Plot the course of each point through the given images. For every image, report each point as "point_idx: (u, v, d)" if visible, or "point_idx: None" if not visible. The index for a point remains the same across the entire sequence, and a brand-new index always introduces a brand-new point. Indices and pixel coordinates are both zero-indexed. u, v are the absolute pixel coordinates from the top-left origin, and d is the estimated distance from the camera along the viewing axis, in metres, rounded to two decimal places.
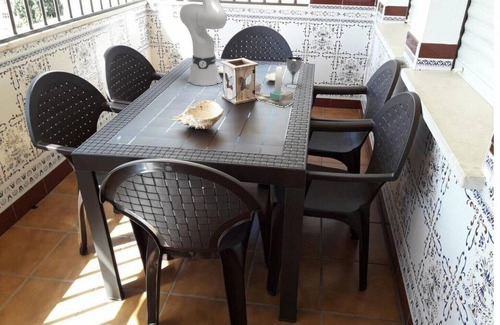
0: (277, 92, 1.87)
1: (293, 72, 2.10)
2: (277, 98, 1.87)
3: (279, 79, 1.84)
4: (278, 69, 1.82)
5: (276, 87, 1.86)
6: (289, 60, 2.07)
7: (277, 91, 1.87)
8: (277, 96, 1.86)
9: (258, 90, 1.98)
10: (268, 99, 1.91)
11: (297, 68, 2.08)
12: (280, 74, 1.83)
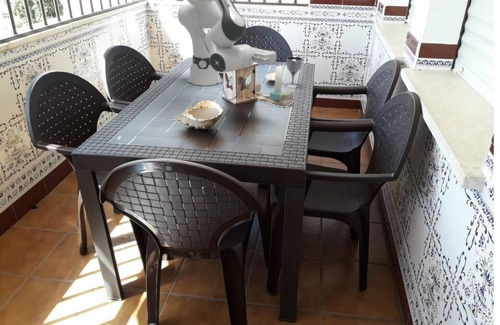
0: (277, 92, 1.87)
1: (293, 72, 2.10)
2: (277, 98, 1.87)
3: (279, 79, 1.84)
4: (278, 69, 1.82)
5: (276, 87, 1.86)
6: (289, 60, 2.07)
7: (277, 91, 1.87)
8: (277, 96, 1.86)
9: (258, 90, 1.98)
10: (268, 99, 1.91)
11: (297, 68, 2.08)
12: (280, 74, 1.83)
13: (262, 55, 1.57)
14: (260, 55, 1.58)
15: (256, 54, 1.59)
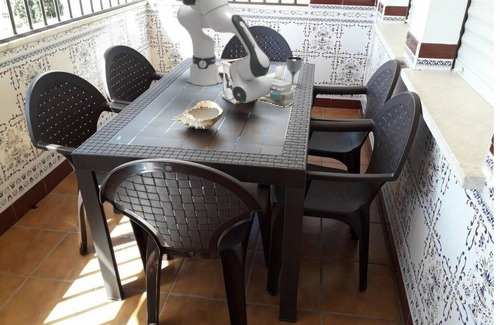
0: None
1: (293, 72, 2.10)
2: (277, 98, 1.87)
3: (279, 79, 1.84)
4: (278, 69, 1.82)
5: None
6: (289, 60, 2.07)
7: None
8: (277, 96, 1.86)
9: None
10: (268, 99, 1.91)
11: (297, 68, 2.08)
12: (280, 74, 1.83)
13: (279, 86, 1.73)
14: (277, 86, 1.74)
15: (273, 85, 1.75)
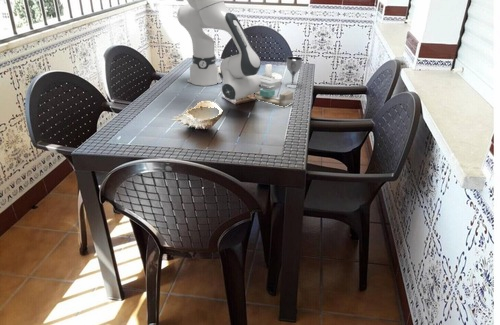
0: None
1: (293, 72, 2.10)
2: (267, 95, 1.90)
3: None
4: (268, 67, 1.85)
5: None
6: (289, 60, 2.07)
7: None
8: (267, 93, 1.90)
9: None
10: (268, 99, 1.91)
11: (297, 68, 2.08)
12: (270, 71, 1.86)
13: (268, 83, 1.77)
14: (266, 83, 1.77)
15: (262, 82, 1.78)
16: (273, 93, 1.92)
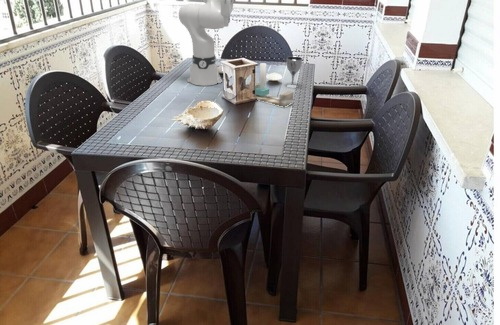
0: (261, 88, 1.92)
1: (293, 72, 2.10)
2: (261, 94, 1.92)
3: (263, 75, 1.89)
4: (262, 65, 1.87)
5: (260, 83, 1.91)
6: (289, 60, 2.07)
7: (261, 87, 1.92)
8: (261, 92, 1.91)
9: None
10: (268, 99, 1.91)
11: (297, 68, 2.08)
12: (264, 70, 1.88)
13: None
14: None
15: None
16: (267, 92, 1.94)
